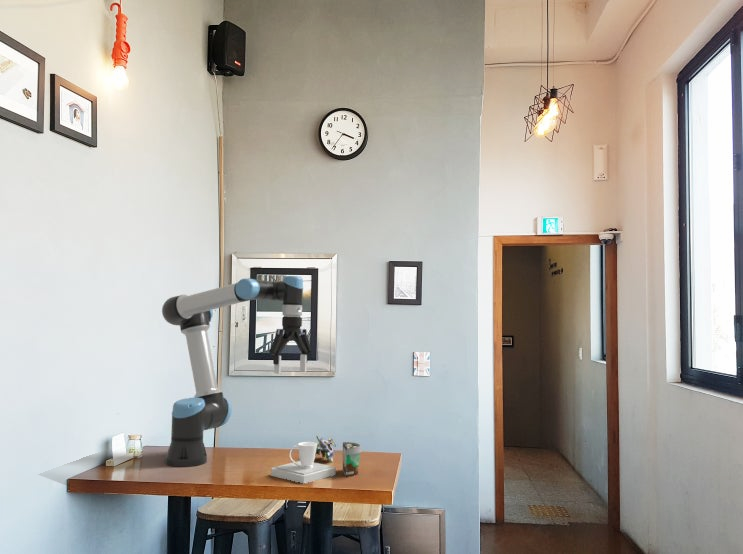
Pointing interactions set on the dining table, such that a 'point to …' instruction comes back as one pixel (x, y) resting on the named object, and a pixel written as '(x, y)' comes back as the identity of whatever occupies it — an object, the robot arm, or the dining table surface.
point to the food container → (351, 458)
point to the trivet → (303, 472)
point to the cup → (305, 454)
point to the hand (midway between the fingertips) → (290, 372)
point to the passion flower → (325, 448)
